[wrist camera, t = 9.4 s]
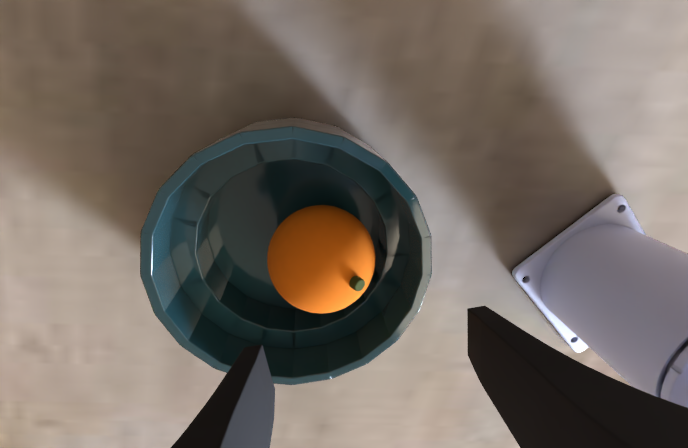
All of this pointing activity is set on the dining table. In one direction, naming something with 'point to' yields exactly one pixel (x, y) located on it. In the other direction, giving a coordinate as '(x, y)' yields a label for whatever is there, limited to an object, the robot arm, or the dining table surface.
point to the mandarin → (321, 259)
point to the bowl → (253, 241)
